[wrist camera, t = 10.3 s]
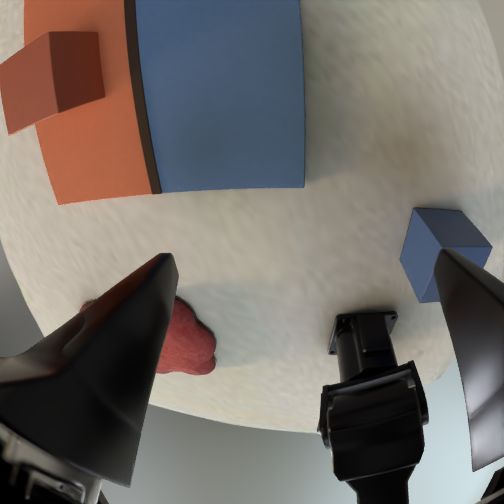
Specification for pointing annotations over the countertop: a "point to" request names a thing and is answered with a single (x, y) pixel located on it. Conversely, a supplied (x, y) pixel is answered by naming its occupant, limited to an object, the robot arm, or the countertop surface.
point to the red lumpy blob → (185, 344)
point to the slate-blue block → (438, 246)
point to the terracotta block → (50, 78)
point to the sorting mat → (179, 98)
